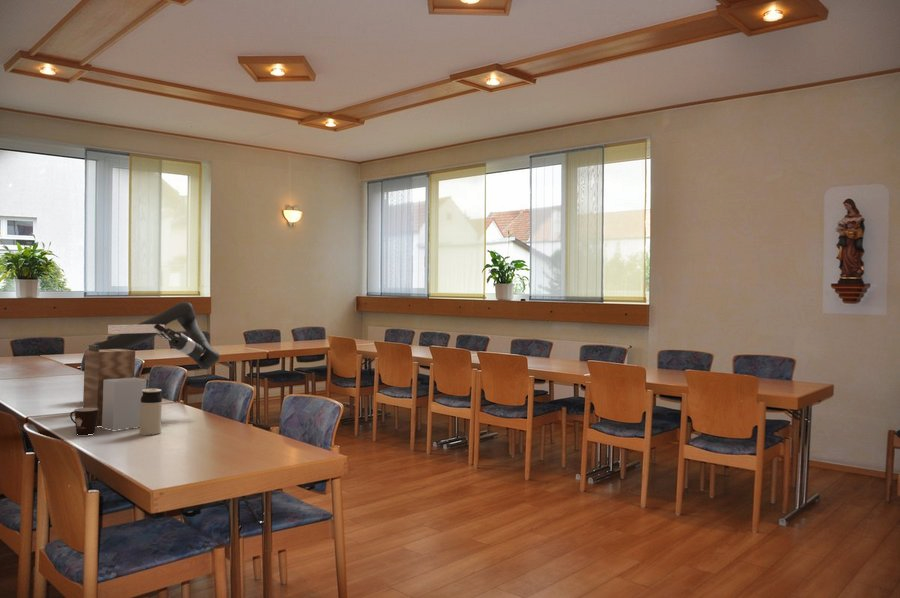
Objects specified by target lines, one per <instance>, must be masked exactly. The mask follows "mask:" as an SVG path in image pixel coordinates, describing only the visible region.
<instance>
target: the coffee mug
mask: <svg viewBox="0 0 900 598" xmlns="http://www.w3.org/2000/svg"><path fill="white" fill-rule="evenodd" d="M73 414H74V419H75V420H74V419H73V417H72V416H73ZM69 415H70V417H69V418H70V420H71V421H72V423H73V424H74V425H75V434H76V435H77V434H78V435H88V434H93V433H94V434H95V433H96V428H95V427H96V421H97V415H98V408H83V407H80V408H76V409H74V410H73V411H71V412H70V413H69ZM94 434H93V435H94ZM78 435H77V436H78Z"/></svg>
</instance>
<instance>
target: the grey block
mask: <svg viewBox="0 0 900 598" xmlns="http://www.w3.org/2000/svg"><path fill="white" fill-rule="evenodd" d="M147 381H148V380H147V379H145V378H140V377H137V376H136V377H135V376H134V378H121V379H108V380H104V382H103V410H102V427H103V428H107V429H111V430H118V429H126V428H134V427H140V410H141V397H142V395H143V392H142V390H144V389H147ZM102 427H101V428H102ZM134 429H135V428H134ZM126 430H127V429H126Z"/></svg>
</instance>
